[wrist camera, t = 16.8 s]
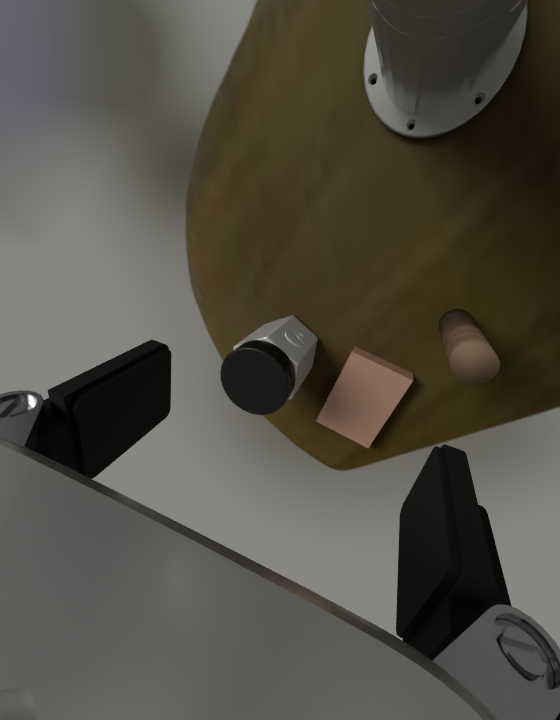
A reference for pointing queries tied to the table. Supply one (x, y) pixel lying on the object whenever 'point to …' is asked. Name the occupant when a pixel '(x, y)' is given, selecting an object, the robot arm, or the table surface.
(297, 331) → the jar
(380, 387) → the tile
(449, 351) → the stick
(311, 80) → the table surface
